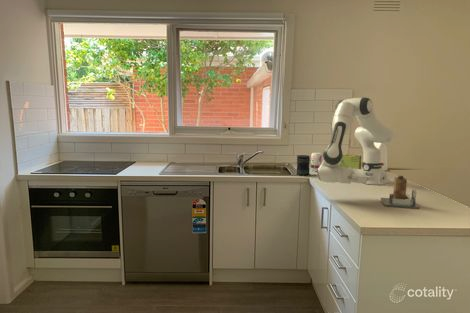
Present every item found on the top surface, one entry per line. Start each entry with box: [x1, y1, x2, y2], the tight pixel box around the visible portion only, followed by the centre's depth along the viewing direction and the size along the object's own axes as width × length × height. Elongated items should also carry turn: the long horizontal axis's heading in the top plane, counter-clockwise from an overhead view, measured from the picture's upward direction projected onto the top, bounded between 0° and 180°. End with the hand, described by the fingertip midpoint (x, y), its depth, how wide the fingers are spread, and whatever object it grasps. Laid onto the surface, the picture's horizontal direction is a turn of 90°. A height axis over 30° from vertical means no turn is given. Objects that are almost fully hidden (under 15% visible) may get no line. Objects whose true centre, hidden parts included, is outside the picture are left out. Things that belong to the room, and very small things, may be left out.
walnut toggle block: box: [392, 175, 408, 199], centre depth 168 cm, size 5×5×14 cm
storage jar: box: [296, 154, 311, 177], centre depth 245 cm, size 10×10×15 cm
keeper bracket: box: [380, 189, 420, 210], centre depth 169 cm, size 16×14×8 cm
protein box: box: [340, 153, 362, 169], centre depth 244 cm, size 10×15×16 cm
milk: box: [374, 142, 388, 172], centre depth 264 cm, size 12×12×26 cm
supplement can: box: [310, 152, 323, 172], centre depth 260 cm, size 8×8×15 cm
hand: (374, 176), depth 172 cm, fingers open, 8 cm apart
